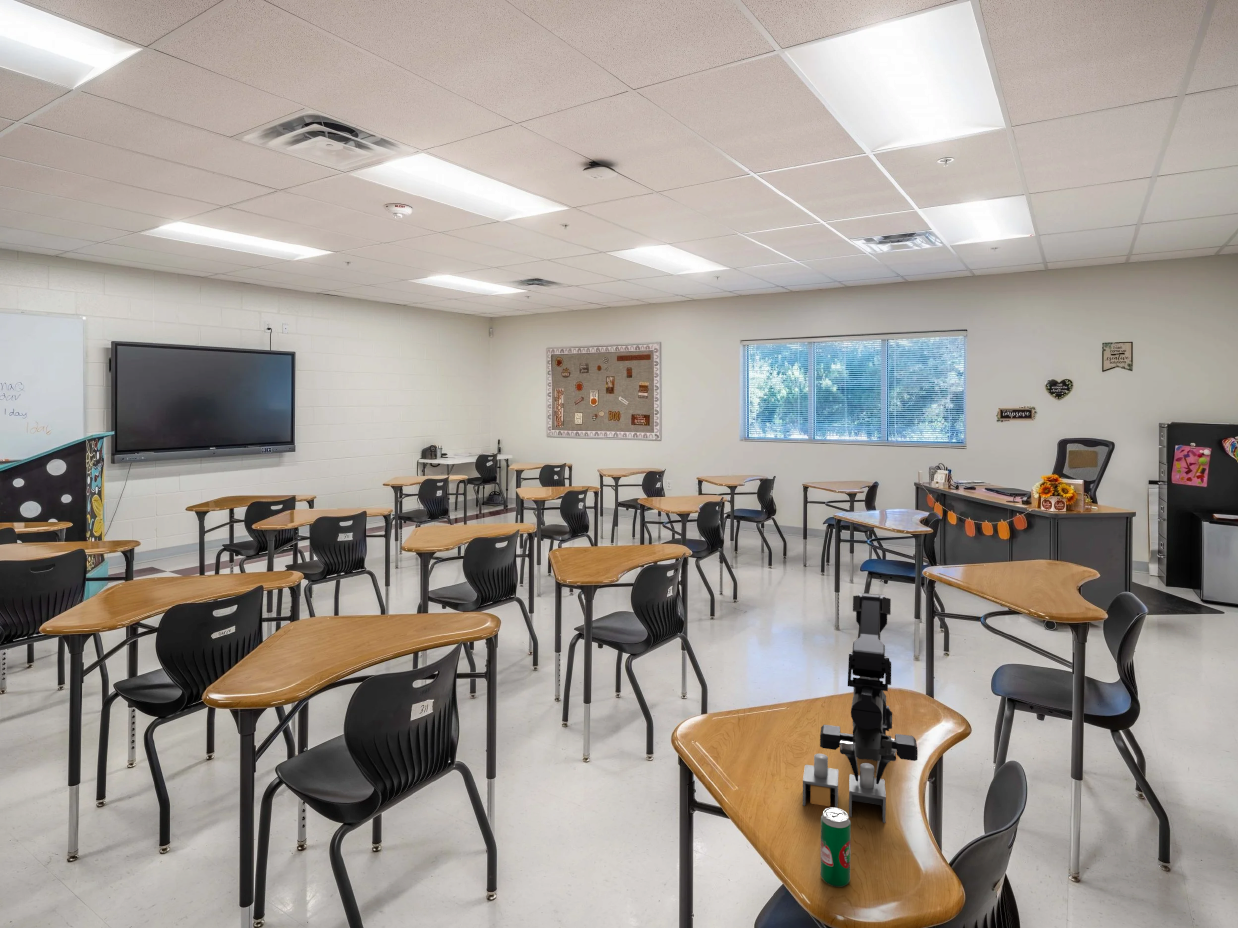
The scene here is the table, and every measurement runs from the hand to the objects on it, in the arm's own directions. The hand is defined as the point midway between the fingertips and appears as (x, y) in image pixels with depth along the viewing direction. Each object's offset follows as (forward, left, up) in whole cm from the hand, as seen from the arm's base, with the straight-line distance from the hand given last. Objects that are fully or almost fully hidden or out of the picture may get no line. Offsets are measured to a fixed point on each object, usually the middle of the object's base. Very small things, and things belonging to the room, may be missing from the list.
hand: (867, 781), depth 142 cm
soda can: (+13, +22, -6) cm, 26 cm away
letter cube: (+9, -4, -6) cm, 11 cm away
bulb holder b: (+9, -4, -6) cm, 11 cm away
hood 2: (0, 0, -6) cm, 6 cm away
